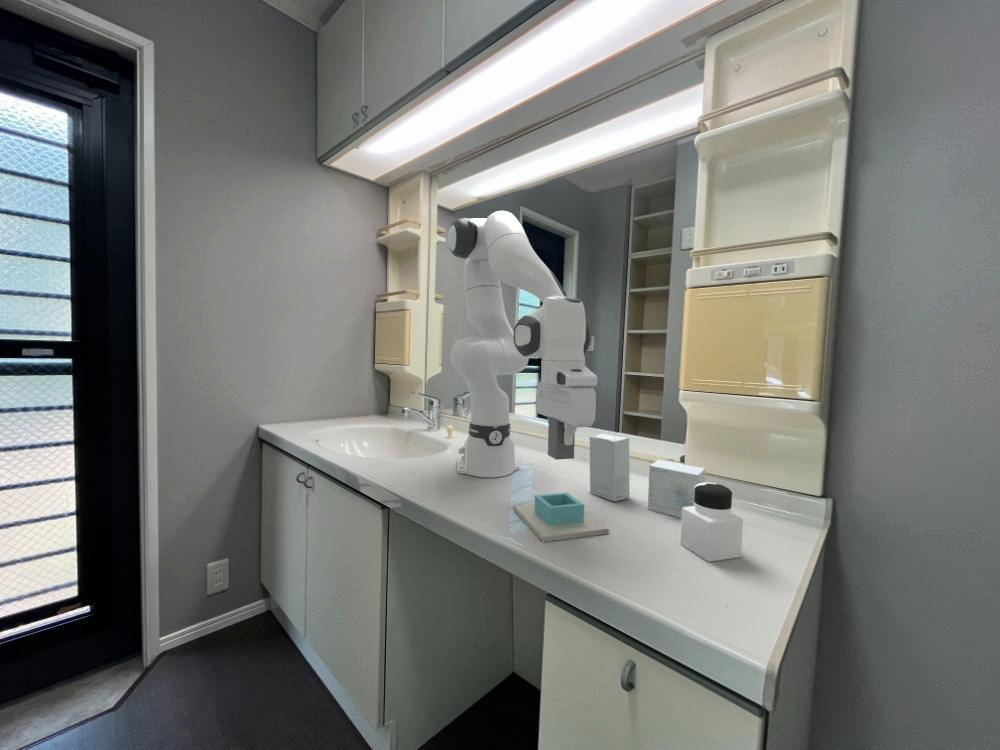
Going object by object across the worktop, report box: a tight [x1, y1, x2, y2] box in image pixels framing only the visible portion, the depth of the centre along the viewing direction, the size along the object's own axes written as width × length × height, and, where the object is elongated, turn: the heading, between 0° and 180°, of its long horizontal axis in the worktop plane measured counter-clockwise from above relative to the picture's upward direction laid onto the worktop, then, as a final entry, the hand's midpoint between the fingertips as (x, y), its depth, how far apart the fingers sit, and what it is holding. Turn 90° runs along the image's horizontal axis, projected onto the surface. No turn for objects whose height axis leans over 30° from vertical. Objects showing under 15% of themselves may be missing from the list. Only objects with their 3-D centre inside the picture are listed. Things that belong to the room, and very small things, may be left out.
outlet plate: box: [513, 492, 610, 542], centre depth 87 cm, size 16×14×4 cm
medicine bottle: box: [680, 482, 744, 563], centre depth 75 cm, size 7×7×12 cm
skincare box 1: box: [589, 433, 631, 503], centre depth 102 cm, size 8×6×15 cm
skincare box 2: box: [647, 459, 706, 519], centre depth 93 cm, size 10×6×10 cm, turn 50°
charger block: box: [547, 417, 576, 461], centre depth 85 cm, size 4×4×10 cm
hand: (561, 441), depth 85 cm, fingers closed on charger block, 4 cm apart
